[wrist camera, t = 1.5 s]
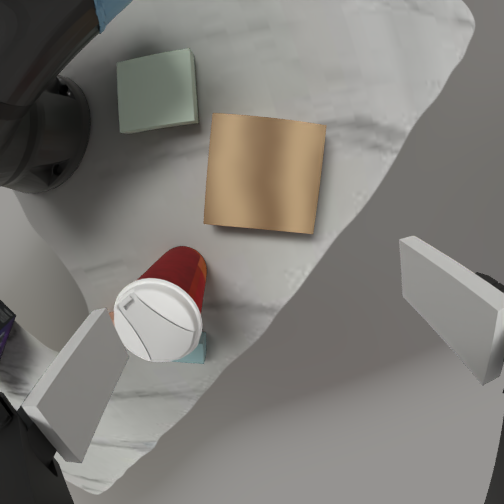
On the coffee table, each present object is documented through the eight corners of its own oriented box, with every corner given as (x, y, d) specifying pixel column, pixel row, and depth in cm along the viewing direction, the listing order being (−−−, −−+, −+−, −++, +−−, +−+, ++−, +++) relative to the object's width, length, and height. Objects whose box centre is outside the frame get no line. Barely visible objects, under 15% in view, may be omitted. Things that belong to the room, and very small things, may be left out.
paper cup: (139, 263, 37) (91, 319, 24) (186, 223, 36) (151, 265, 23) (182, 310, 39) (156, 382, 26) (230, 274, 38) (221, 339, 25)
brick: (162, 347, 41) (157, 360, 38) (160, 328, 40) (154, 340, 38) (206, 350, 41) (203, 363, 39) (205, 331, 41) (203, 344, 38)
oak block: (208, 216, 36) (203, 224, 32) (216, 117, 33) (212, 112, 29) (306, 225, 36) (313, 234, 33) (317, 128, 33) (326, 125, 29)
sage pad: (129, 133, 33) (120, 132, 30) (126, 68, 31) (116, 62, 28) (198, 123, 33) (194, 120, 30) (194, 55, 30) (189, 47, 28)
